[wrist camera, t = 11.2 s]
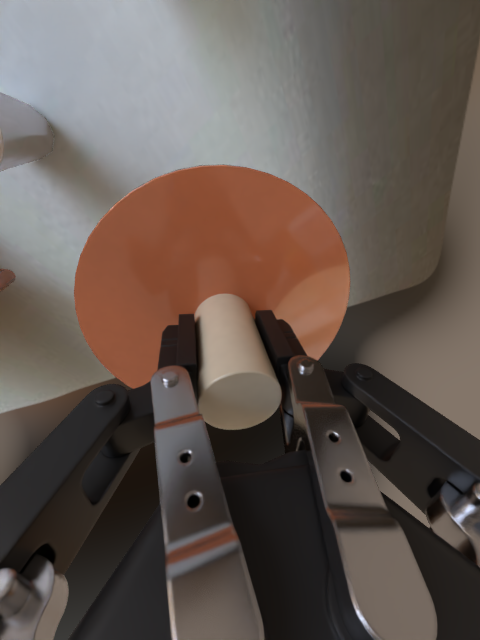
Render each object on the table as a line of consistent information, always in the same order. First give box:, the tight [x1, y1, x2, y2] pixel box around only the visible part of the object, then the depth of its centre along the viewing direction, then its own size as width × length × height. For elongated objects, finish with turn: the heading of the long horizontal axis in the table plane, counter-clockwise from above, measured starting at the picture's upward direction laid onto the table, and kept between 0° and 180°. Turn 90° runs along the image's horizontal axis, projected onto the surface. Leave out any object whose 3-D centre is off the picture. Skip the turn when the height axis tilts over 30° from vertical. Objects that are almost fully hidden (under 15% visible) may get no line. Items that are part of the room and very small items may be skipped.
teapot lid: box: [74, 165, 350, 430], centre depth 12 cm, size 14×14×7 cm
